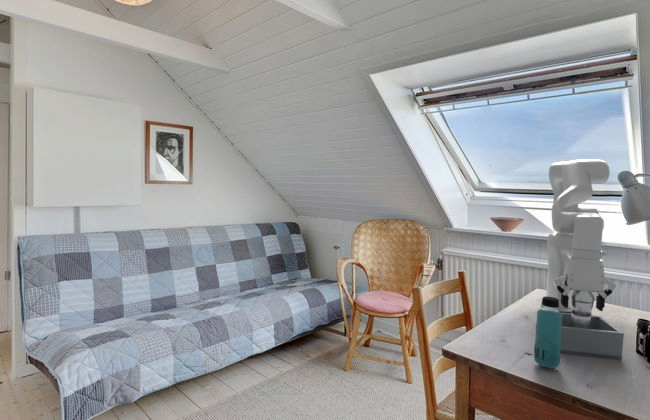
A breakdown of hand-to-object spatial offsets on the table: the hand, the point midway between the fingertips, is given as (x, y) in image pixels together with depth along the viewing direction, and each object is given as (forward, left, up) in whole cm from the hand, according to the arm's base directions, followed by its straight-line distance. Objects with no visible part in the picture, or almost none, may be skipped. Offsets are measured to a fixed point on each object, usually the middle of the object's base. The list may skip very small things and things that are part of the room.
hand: (581, 308), depth 124 cm
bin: (0, 0, -12) cm, 12 cm away
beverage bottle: (+19, -15, -12) cm, 27 cm away
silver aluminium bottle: (0, 0, -12) cm, 12 cm away
